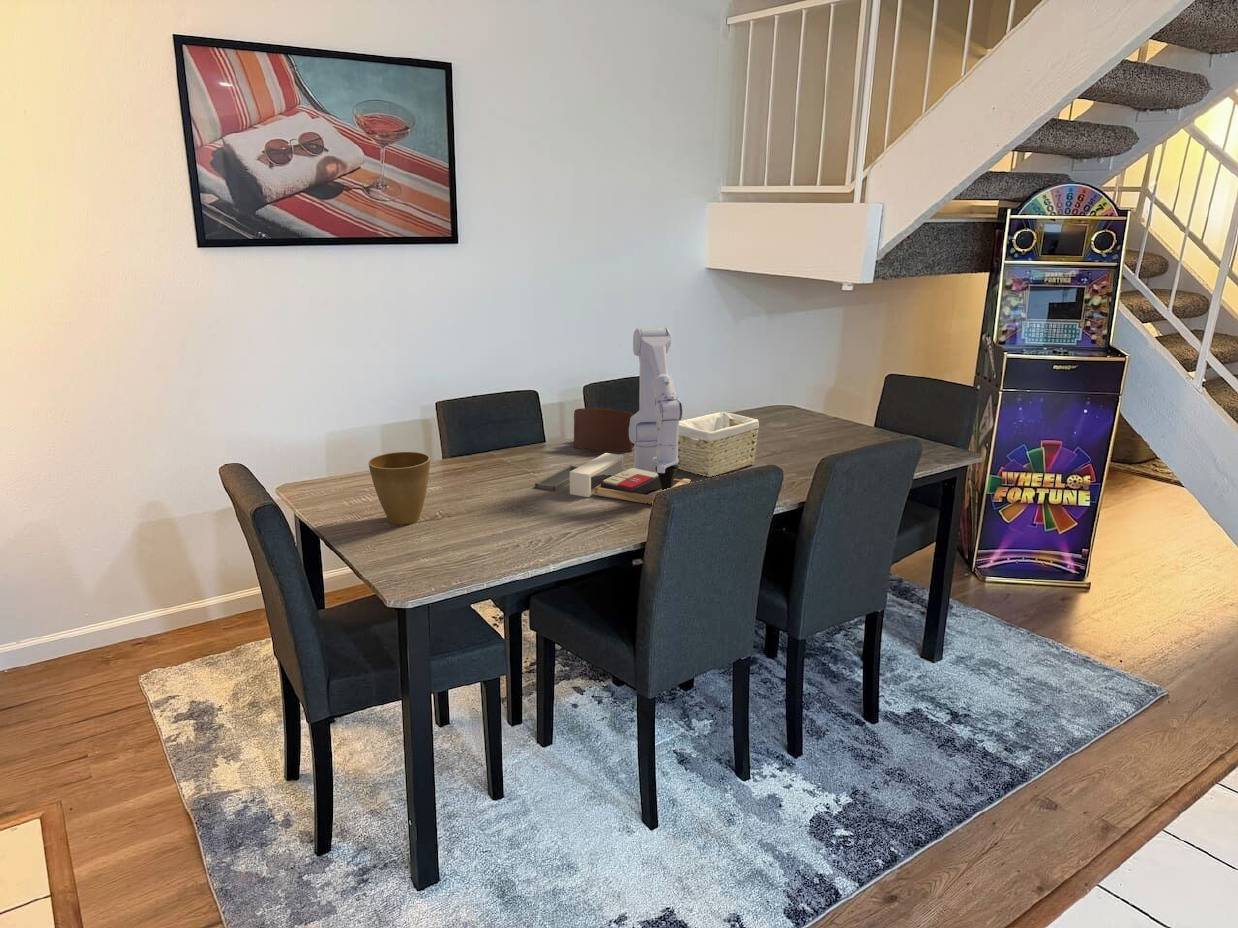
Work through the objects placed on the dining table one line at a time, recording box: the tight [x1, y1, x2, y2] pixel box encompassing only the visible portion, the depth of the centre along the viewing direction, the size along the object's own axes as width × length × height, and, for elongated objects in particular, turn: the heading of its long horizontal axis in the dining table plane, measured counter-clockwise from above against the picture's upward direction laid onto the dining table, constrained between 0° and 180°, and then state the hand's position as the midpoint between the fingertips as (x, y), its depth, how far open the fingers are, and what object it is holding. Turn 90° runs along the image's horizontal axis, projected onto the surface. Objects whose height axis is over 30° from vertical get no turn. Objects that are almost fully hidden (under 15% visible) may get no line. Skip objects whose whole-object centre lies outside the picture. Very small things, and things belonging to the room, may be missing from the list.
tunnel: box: [534, 452, 625, 498], centre depth 253 cm, size 22×18×6 cm
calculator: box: [600, 467, 662, 495], centre depth 246 cm, size 11×4×15 cm
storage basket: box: [675, 411, 760, 478], centre depth 269 cm, size 24×16×15 cm
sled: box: [593, 478, 692, 505], centre depth 245 cm, size 18×21×2 cm
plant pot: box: [368, 451, 431, 526], centre depth 219 cm, size 15×15×16 cm
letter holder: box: [573, 407, 634, 453], centre depth 291 cm, size 10×20×14 cm, turn 77°
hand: (666, 491), depth 242 cm, fingers closed
